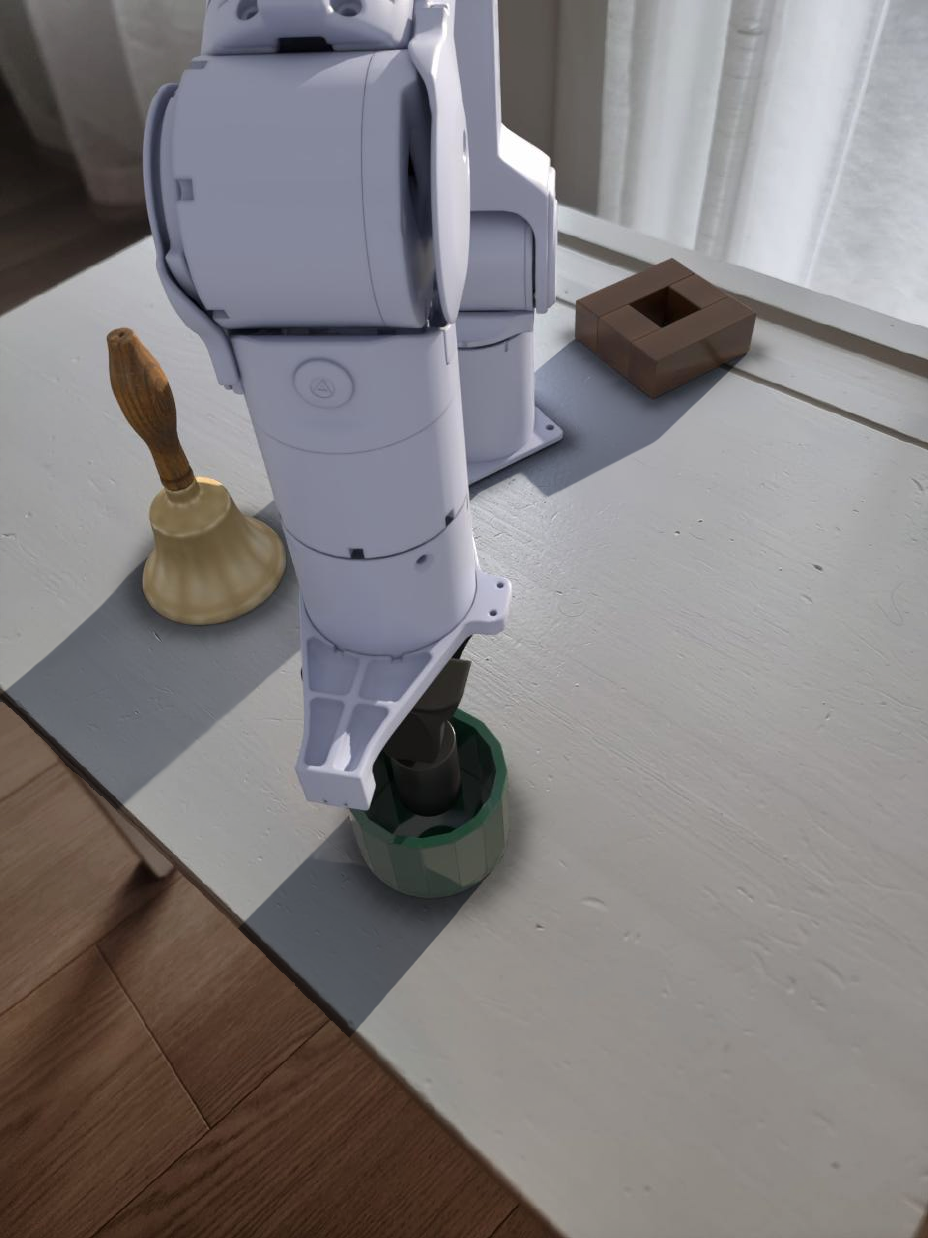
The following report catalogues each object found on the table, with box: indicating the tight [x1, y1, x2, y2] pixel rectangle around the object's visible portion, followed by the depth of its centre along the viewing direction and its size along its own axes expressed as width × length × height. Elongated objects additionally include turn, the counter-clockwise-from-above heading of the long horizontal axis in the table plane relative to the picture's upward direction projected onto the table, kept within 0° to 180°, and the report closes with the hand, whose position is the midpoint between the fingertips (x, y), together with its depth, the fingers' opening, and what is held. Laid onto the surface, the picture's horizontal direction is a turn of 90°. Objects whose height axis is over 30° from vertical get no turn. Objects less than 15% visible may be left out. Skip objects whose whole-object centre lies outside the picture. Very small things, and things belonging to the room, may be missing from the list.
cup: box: [346, 707, 511, 899], centre depth 44 cm, size 7×7×5 cm
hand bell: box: [106, 327, 287, 626], centre depth 51 cm, size 8×8×16 cm
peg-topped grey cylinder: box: [390, 721, 462, 817], centre depth 40 cm, size 3×3×8 cm
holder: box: [574, 257, 758, 400], centre depth 67 cm, size 8×8×3 cm
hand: (417, 734), depth 40 cm, fingers closed on peg-topped grey cylinder
